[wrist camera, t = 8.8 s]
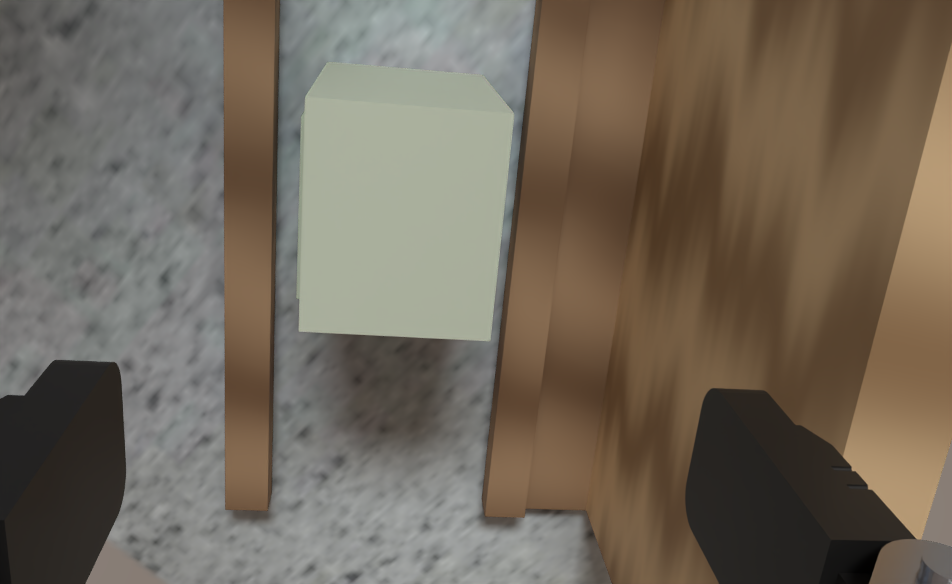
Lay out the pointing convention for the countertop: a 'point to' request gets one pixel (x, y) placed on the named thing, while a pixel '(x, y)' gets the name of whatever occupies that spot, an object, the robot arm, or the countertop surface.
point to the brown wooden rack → (673, 254)
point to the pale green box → (401, 202)
